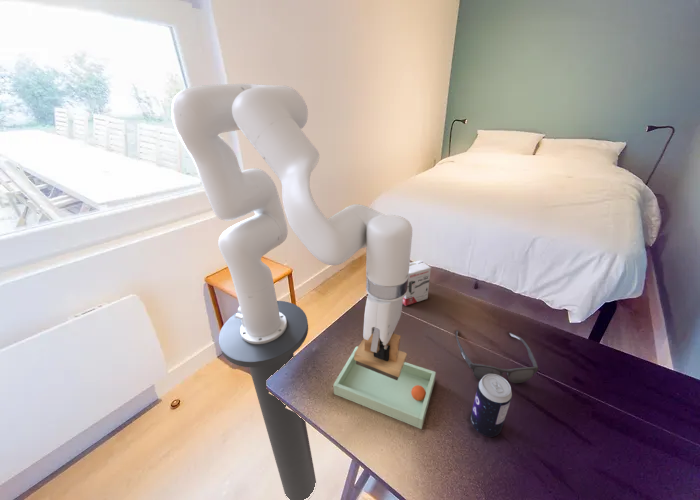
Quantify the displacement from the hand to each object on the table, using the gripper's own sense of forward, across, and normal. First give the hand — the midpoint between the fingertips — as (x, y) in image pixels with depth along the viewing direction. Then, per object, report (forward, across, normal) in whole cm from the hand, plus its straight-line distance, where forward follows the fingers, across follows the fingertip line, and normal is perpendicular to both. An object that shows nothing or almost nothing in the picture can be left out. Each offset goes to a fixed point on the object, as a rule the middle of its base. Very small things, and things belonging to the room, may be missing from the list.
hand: (383, 353), depth 66 cm
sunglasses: (+10, -19, +22) cm, 31 cm away
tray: (+10, 0, +1) cm, 10 cm away
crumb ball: (+8, 0, +8) cm, 12 cm away
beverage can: (+10, 0, +22) cm, 24 cm away
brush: (+4, 0, -1) cm, 4 cm away
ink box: (+11, -34, -2) cm, 35 cm away
